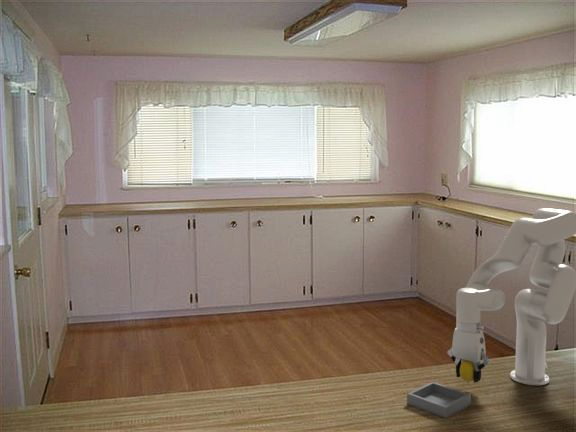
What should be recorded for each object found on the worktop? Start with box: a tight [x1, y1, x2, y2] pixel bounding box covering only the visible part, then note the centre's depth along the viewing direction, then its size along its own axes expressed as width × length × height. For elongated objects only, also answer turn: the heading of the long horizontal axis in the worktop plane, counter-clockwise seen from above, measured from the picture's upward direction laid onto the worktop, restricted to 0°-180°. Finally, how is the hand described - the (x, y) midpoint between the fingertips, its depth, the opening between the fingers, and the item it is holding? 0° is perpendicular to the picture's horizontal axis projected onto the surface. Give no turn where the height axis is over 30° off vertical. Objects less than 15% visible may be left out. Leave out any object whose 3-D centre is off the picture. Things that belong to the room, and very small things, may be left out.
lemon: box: [460, 360, 475, 384], centre depth 192 cm, size 6×6×8 cm
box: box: [406, 381, 472, 420], centre depth 182 cm, size 14×14×4 cm
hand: (468, 378), depth 193 cm, fingers closed on lemon, 5 cm apart
